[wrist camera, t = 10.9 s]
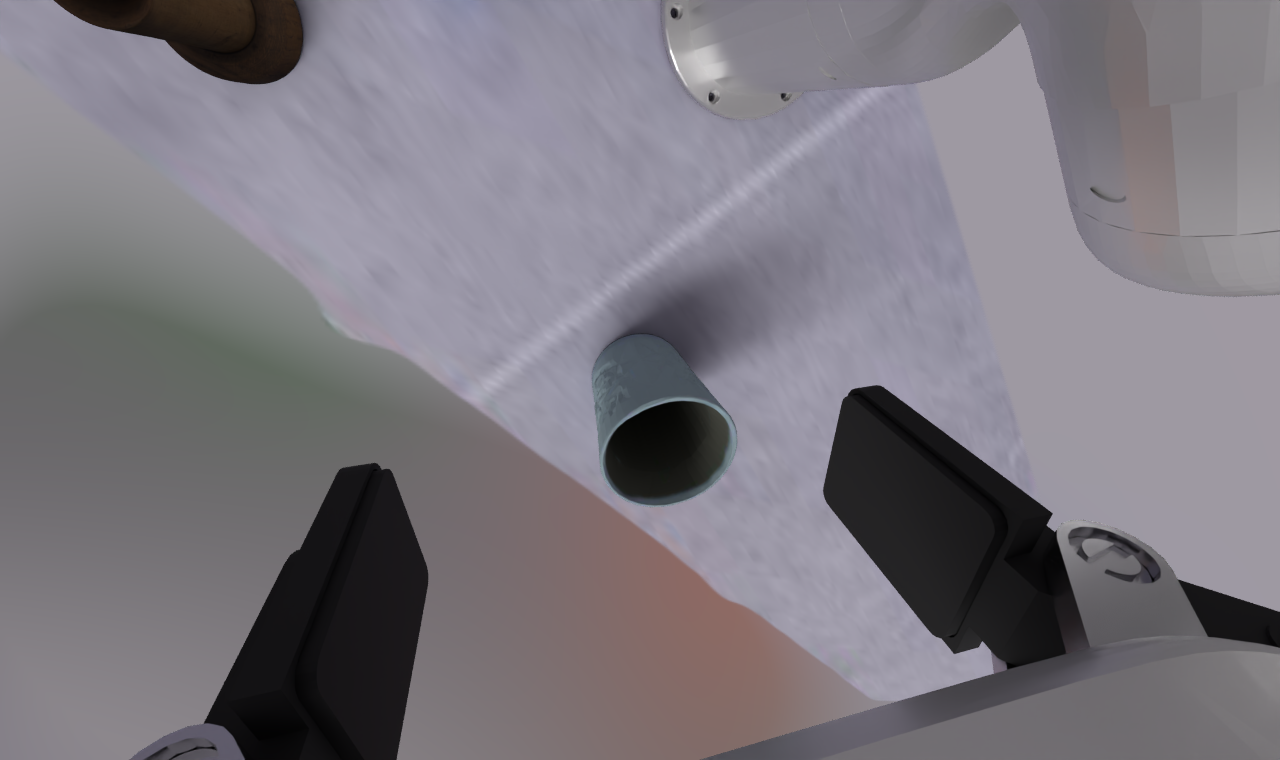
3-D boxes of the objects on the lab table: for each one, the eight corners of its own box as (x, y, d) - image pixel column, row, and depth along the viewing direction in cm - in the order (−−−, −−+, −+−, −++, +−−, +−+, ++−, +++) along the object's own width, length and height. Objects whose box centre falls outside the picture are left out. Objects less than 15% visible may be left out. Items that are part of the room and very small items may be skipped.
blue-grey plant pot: (707, 354, 45) (764, 426, 35) (650, 435, 48) (687, 523, 38) (616, 307, 41) (650, 373, 30) (560, 400, 44) (574, 488, 34)
